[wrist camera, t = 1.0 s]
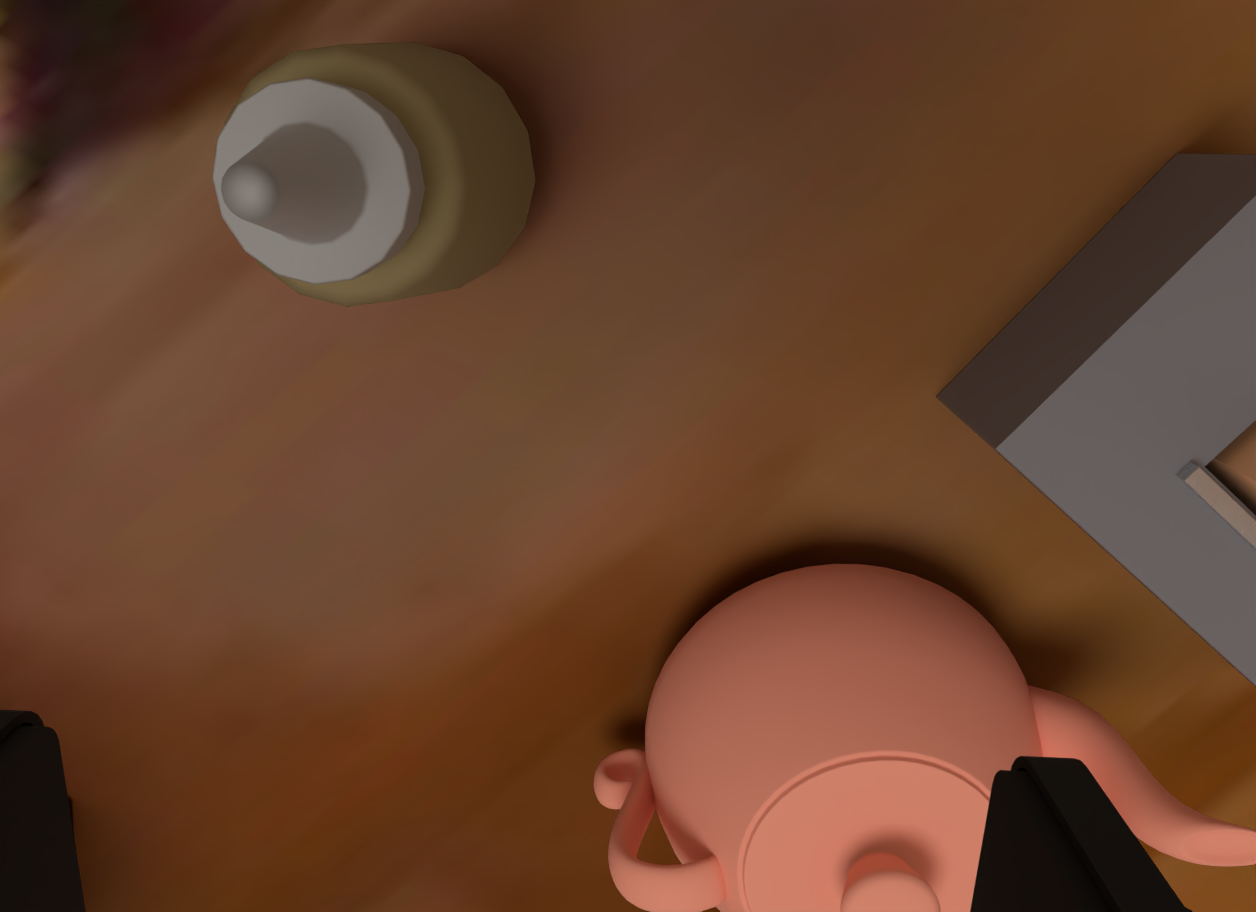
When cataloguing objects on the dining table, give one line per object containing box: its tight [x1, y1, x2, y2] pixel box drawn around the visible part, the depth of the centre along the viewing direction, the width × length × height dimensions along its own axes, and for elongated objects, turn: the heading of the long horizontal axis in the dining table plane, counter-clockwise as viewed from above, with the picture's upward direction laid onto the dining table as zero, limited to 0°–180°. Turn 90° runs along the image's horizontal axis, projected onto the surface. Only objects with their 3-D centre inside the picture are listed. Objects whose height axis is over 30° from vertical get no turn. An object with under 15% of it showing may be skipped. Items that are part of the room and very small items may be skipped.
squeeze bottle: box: [212, 42, 536, 307], centre depth 28 cm, size 8×8×18 cm
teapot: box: [594, 564, 1256, 912], centre depth 37 cm, size 22×16×12 cm
